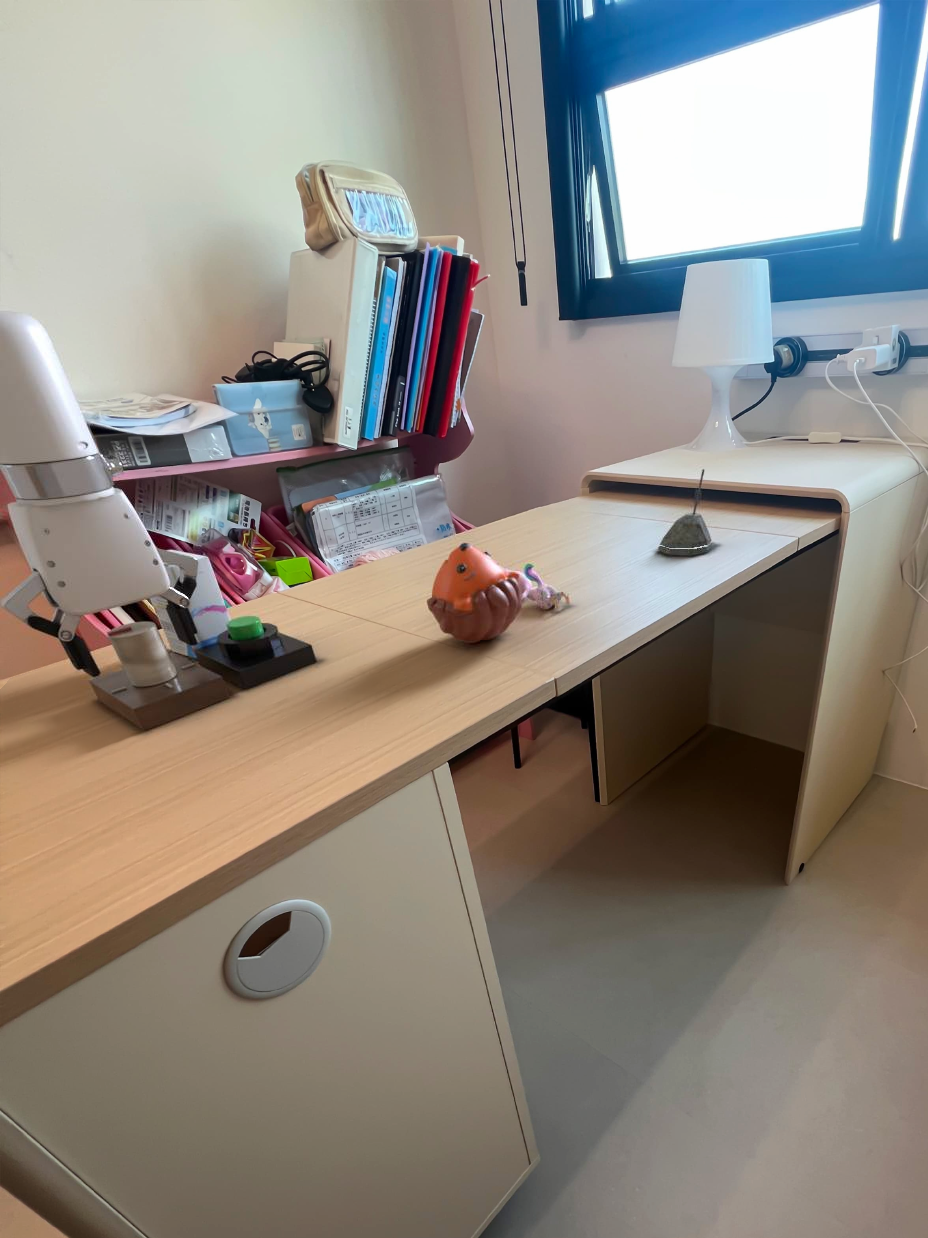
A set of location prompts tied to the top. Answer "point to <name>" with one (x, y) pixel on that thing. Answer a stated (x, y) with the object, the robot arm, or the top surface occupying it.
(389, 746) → the top surface
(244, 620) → the green button
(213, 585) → the ink box
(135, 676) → the dimmer knob
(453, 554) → the orange toy creature
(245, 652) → the switch box
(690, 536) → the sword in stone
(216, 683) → the dimmer panel
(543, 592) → the pink plastic figure
